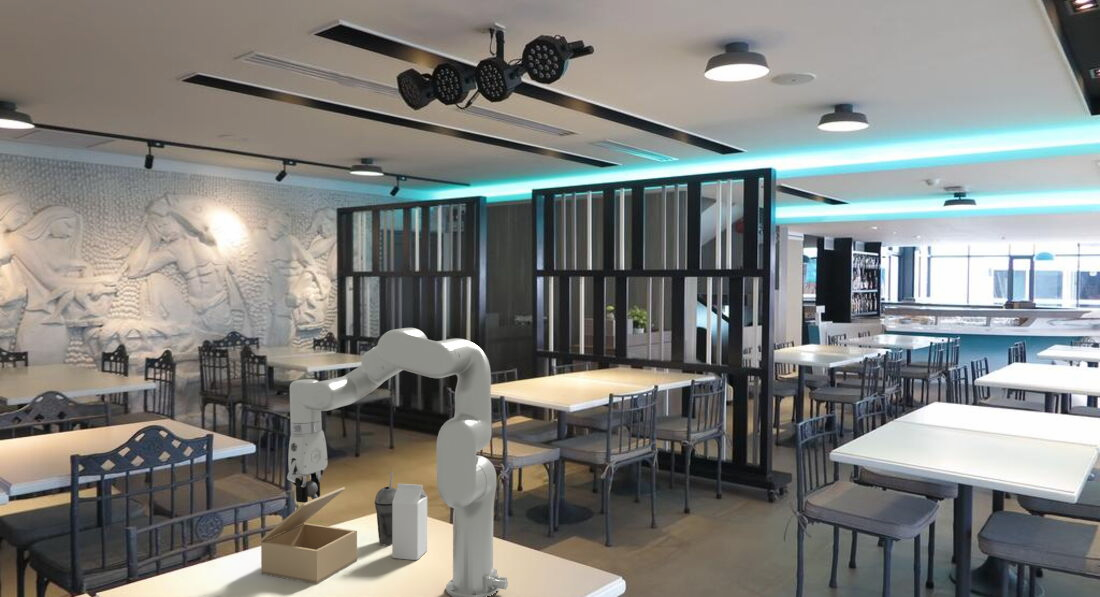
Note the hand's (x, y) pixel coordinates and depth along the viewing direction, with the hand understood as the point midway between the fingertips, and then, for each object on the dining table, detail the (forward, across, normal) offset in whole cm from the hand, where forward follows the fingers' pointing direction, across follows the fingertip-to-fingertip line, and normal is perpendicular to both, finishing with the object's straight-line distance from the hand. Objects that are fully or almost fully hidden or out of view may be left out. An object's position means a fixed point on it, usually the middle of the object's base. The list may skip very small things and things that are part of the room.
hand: (308, 498), depth 188 cm
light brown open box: (+18, 0, 0) cm, 18 cm away
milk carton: (+18, +17, -19) cm, 32 cm away
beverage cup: (+18, +23, -8) cm, 30 cm away
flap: (+4, 0, +1) cm, 4 cm away
